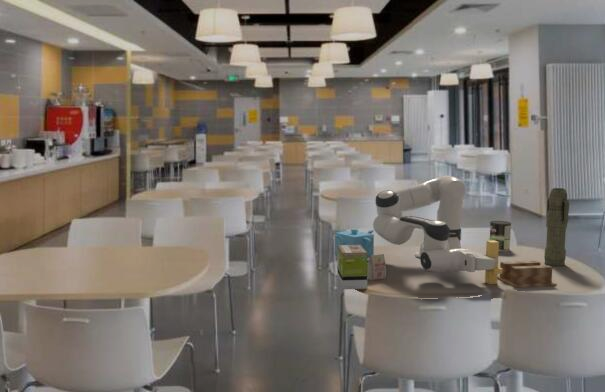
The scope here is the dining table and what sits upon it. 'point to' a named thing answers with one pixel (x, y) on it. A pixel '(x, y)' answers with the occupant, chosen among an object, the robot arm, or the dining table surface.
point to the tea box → (352, 266)
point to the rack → (526, 274)
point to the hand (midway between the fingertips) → (494, 258)
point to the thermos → (556, 227)
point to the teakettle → (355, 240)
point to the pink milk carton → (376, 267)
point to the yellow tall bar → (493, 251)
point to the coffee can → (501, 234)
